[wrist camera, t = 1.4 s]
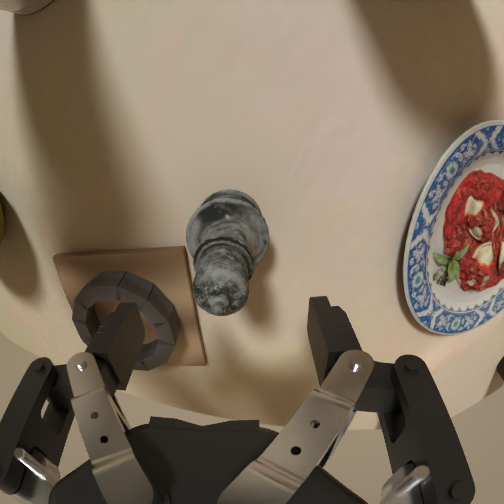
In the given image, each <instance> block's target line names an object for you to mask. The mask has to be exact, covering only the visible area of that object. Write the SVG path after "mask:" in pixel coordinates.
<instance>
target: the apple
mask: <svg viewBox="0 0 504 504" xmlns="http://www.w3.org/2000/svg"><path fill="white" fill-rule="evenodd" d="M4 228H5V227H4V215H3V211H2V206H1V202H0V242H1V240H2V238H3V233H4Z"/></svg>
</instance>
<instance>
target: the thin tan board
mask: <svg viewBox="0 0 504 504" xmlns="http://www.w3.org/2000/svg"><path fill="white" fill-rule="evenodd" d="M53 260H54V263H55V266H56V269H57V272H58V275H59V278H60V281H61V283H62V286H63V289H64V291H65V294H66V296H67V299H68V301H69V304H70V306H71V309H72V311H73V315H72V320H73V322H74V325H75V327H76V329H77V331H78V333H79V335H80V337H81V339H82V341H83V342H84V343H85V344H86V345H87V346H88V345H89V343H90V341H91V340H92V338H93V336H94V334H95V333H96V331H97V329H98V328H99V327H100V324H101V322H102V321H103V319H104V318H105V317H106V316H107V315H109V314H110V313H111V312H114V311H115V310H116V308H117V306H118V305H119V303H120V302H135V303H136V304H137V306H138V309H139V312H140V315H141V319H142V322H143V325H144V328H145V339H144V342H143V345H142V347H141V350H140V352H139V355H138V357H137V360H136V363H135V365H134V368H133V370H146V371H148V370H151V369H153V368H156V367H158V366H160V365H184V366H205V365H206V358H205V353H204V349H203V344H202V339H201V335H200V330H199V325H198V320H197V314H196V309H195V304H194V299H193V293H192V287H191V282H190V276H189V270H188V264H187V258H186V251H185V246H179V247H162V248H144V249H127V250H111V251H95V252H79V253H64V254H56V255H55V256H54V257H53Z"/></svg>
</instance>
